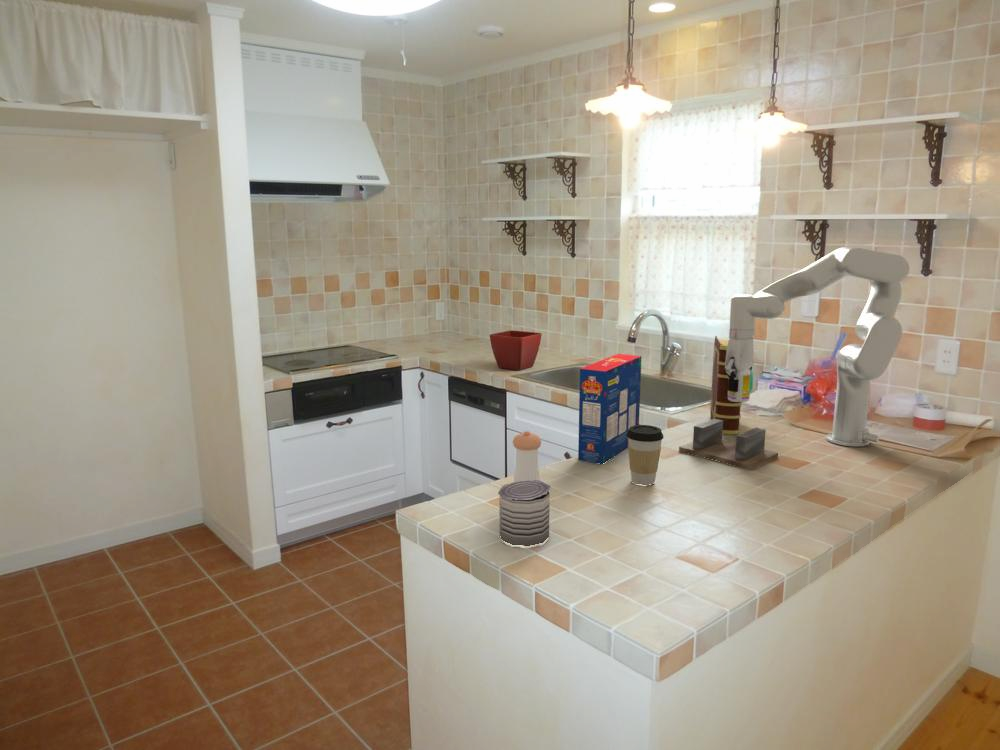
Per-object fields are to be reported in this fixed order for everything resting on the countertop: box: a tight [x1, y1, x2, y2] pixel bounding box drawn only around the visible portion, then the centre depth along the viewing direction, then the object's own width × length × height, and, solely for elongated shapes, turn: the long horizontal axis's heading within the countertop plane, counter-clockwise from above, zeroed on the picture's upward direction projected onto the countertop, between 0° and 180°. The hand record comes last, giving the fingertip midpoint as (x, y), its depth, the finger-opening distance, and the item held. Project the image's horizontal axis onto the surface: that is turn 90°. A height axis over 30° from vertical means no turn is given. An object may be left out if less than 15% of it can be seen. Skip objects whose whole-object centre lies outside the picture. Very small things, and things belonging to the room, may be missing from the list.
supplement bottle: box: [728, 364, 752, 403], centre depth 225 cm, size 7×7×13 cm
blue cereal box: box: [577, 353, 642, 465], centre depth 217 cm, size 28×8×28 cm, turn 148°
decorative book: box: [709, 335, 743, 436], centre depth 242 cm, size 22×8×30 cm, turn 168°
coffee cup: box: [626, 424, 664, 485], centre depth 190 cm, size 10×10×15 cm
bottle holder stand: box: [678, 419, 779, 471], centre depth 213 cm, size 24×16×8 cm, turn 43°
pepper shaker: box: [512, 430, 542, 482], centre depth 175 cm, size 7×7×19 cm
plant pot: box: [489, 330, 543, 371], centre depth 345 cm, size 19×19×17 cm
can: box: [497, 479, 552, 546], centre depth 157 cm, size 11×11×12 cm
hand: (738, 388), depth 225 cm, fingers closed on supplement bottle, 6 cm apart
